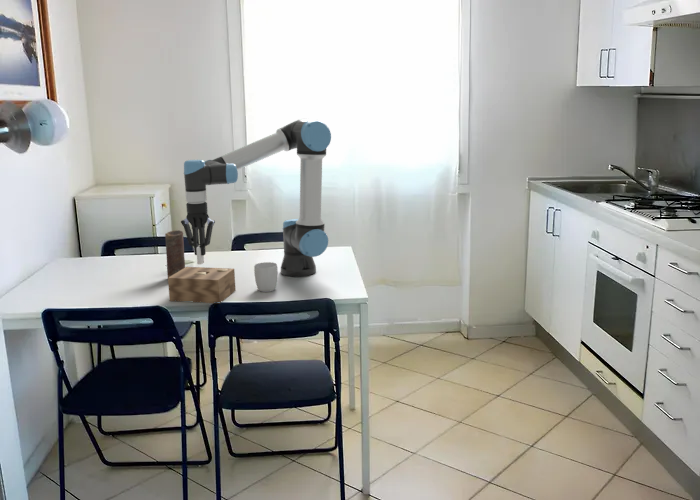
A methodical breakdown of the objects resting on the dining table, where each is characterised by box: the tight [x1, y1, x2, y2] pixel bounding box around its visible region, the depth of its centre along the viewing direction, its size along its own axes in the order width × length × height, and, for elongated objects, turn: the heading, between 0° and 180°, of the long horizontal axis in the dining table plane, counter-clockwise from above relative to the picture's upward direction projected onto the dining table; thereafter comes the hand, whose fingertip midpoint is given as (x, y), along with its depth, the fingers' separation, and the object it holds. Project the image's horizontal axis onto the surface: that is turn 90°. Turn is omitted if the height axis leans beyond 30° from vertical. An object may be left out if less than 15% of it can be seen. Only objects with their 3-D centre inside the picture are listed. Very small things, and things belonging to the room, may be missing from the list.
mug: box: [253, 261, 279, 293], centre depth 266 cm, size 13×9×10 cm
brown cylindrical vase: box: [165, 229, 186, 278], centre depth 281 cm, size 8×7×20 cm
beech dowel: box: [195, 272, 206, 275], centre depth 258 cm, size 4×4×9 cm
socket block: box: [167, 266, 237, 304], centre depth 258 cm, size 20×16×9 cm
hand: (200, 263), depth 256 cm, fingers closed
